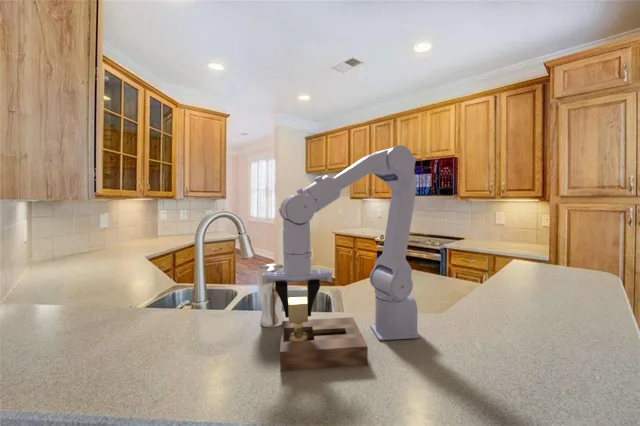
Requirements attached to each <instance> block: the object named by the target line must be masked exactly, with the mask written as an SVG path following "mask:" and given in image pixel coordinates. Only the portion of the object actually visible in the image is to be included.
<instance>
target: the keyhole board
mask: <svg viewBox="0 0 640 426" xmlns="http://www.w3.org/2000/svg"><path fill="white" fill-rule="evenodd" d="M292 332H294V323H289V320H284V321H282V325H281V333H280V348H279V366H280V367H279V370H280V371H279V372H284V371H285V372H288V371H289V372H290V371H302V370H303V371H304V370H314V369H315V370H316V369H331V368H347V367H361V366H363V367H364V366H369V365H368V364H369V362H368V360H369V359H368V355H369V354H368V352H369V351H368V349H369V348H368V346H369V345H367V343H366V341H365V339H364V337H363V335H362V332H361V331H360V328H359V326H358V325H357V323H356V320H355V318H354V317H353V316H351V317H336V318H335V317H334V318H333V317H332V318H315V319H314V318H313V319H308V322H303V332H306V333H307V334H308V340H307V341H291V342H289V341H285V340H289V335H290V334H291V333H292ZM312 338H313V339H312ZM311 339H312V340H311Z"/></svg>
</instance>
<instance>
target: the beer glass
mask: <svg viewBox="0 0 640 426" xmlns="http://www.w3.org/2000/svg"><path fill="white" fill-rule="evenodd" d="M278 271H284V264H278V263H269V264H268V263H267V264H262V265H259V266H258V271H257V273H258V274H257V289H258V296H259V300H260V307H261V314H260V315H261V316H260V322H259V324H260V326H261V327H264V328H266V329H268V328H269V329H272V328H278V327H280V326H281V327H282V321H285V320H284V315H283V304H282V302H281V299H280V297H279V295H278V293H277V292H276V289H275V283H268V284H263V282H262V275H263V273H269V272H278Z"/></svg>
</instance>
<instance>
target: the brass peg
mask: <svg viewBox="0 0 640 426" xmlns="http://www.w3.org/2000/svg"><path fill="white" fill-rule="evenodd" d="M307 300H308V296H295V297H288V312H289V317H288V321H289V323H294V332H292V333H291V334H290V335H289V339H288V340H289V341H288V342H291V341H307V340H309V338H308V334H307V333H306V332H303V322H308V320H309V316H308V303H307Z"/></svg>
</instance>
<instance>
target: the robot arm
mask: <svg viewBox="0 0 640 426" xmlns="http://www.w3.org/2000/svg"><path fill="white" fill-rule="evenodd" d="M416 161H417V160H416V157H415V155H414V154H413V153H412V152H411V150H410V148H408V147H407V146H405V145H401V144H399V145H396V146H393V147H391V148H386V149H382V150H377V151H374V152H373V153H370V154H368V155H366V156H364V157H362V158H360V159H359V160H357V161H356V162H354V163H353V164H351V165H350V166H348V167H347V168H346V169H344V170H342V171H341V172H339V173H338V174H336V175H335V176H333V177H332V176H329V175H324V176H322V175H319V176H317V177H315V178H314V182H312V183H311V184H309V185H307V186H306V187H304V188H301V187H300V188H298V189H297V190H296V193H297V194H295V195H289V196H286V197H285V198H284V199H283V200H282V202H281V204H280V208H278V212H279V214H280V217H281V218H282V219H283V220H282V221H283V222H282V224H283V230H282V248H283V251H282V252H283V254H282V255H283V266H284V271H278V272H269V273H263V275H262V282H263V284H268V283H275V289H276V292H277V293H278V295H279V297H280V299H281V302H282V308H283V311H284V315H285V316H284V317H285V319H286V318H288V319H289V312H288V300H289V297H288V296H289V295H288V294H289V291H288V283H305V282H306V283H307V284H306V287H307V288H306V289H307V303H308V317H312V309H313V306H314V302H315V300H316V297H317V294H318V293H319V291H320V288H321V283H320V282H333V272H332V270H327V269H326V270H325V269H324V270H323V269H322V270H319V269H312V267H311V264H312V262H311V261H312V260H311V221H312V219H313V217H314V215H315V213H318V212H319V211H321V210H322V209H324V208H326V207H327V206H329V205H330V204H332V203H333V202H335V201H336V200H338V199H340V196H341V193H342V190H343V189H345V188H347V187H348V186H350V185H352V184H354V183H356V182H357V181H359V180H361V179H362V178H365V177H366V176H369V175H374V176H375V177H376V178H378V179H379V180H380V181H382V182H384V183H385V184H386V185H387V186H388V188H389V189H390V190H391V197H390V202H389V209H388V217H387V222H386V226H385V227H386V229H385V233H384V234H385V235H384V242H383V248H382V254H381V255H380V256H378V257H377V259H376V260H375V264H374V267H373V268H372V270H371V272H370V274H369V283H370V284H371V286H372V287H373V288H374V293H375V294H374V295H375V299H374V300H375V301H374V302H375V304H374V305H375V307H374V308H375V311H374V313H375V315H374V316H375V318H374V319H375V322H374V323H370V327H371V329H372V331H373V332H374V334H375V336H376V337H377V339H378V341H390V340H391V341H392V340H406V339H407V340H408V339H409V340H411V339H419V334H418V305H417V301H416V299H415V297H414V296H413V295H411V293H412V291H413V287H414V283H413V280H412V270H413V269H412V267H411V265H410V263H409V262H408V260H407V259H406V258H407V250H408V244H409V237H410V231H411V227H412V226H411V225H412V218H413V214H414V211H413V210H414V206H415V199H416V194H417V193H416V192H417V188H418V187H417V178H416V174H415V167H416Z"/></svg>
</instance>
